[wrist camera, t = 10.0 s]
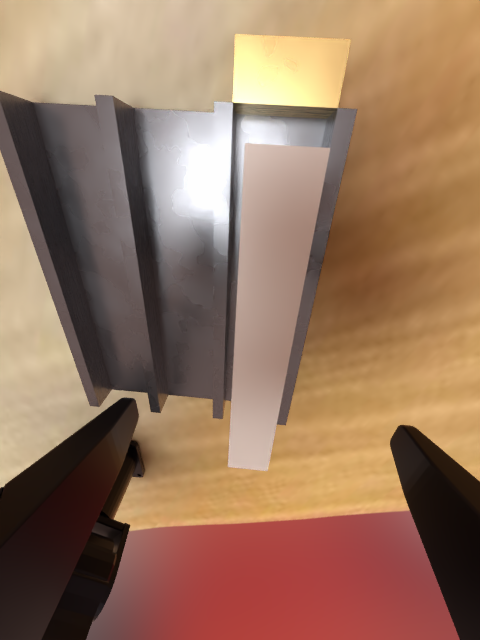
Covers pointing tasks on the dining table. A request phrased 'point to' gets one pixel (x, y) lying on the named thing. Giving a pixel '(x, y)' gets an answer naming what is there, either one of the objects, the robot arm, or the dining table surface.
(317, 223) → the rack
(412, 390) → the dining table surface
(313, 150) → the panel
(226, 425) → the dining table surface
